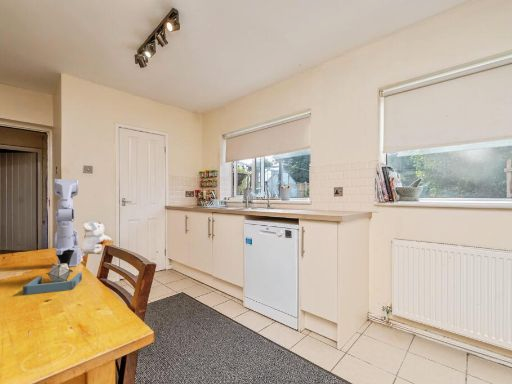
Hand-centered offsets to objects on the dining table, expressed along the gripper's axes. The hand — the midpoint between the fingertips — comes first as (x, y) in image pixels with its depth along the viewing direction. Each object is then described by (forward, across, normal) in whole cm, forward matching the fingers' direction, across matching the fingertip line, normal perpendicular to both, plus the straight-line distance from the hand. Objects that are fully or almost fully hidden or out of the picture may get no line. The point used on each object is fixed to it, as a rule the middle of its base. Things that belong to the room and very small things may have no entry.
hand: (65, 267), depth 108 cm
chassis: (+4, -10, 0) cm, 11 cm away
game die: (+5, -6, 0) cm, 7 cm away
